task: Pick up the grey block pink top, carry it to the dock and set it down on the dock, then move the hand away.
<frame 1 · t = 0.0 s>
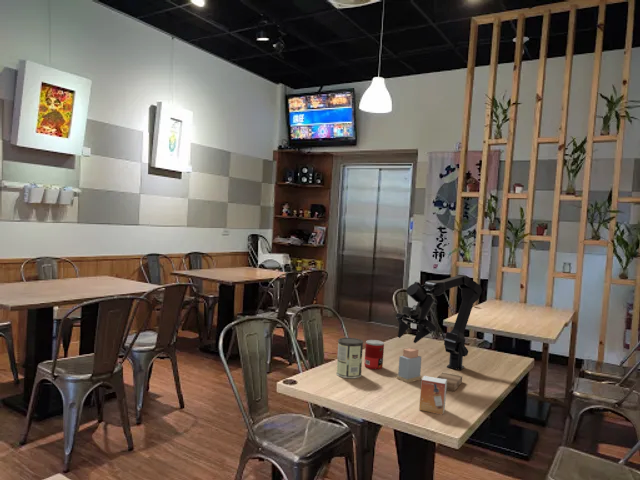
hand: (406, 340, 196), 15 cm above the table, tool tilted 35°, fingers open, 9 cm apart
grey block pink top: (409, 378, 193), on the table
coffee can: (348, 375, 194), on the table
dock: (447, 384, 189), on the table
small box: (432, 410, 160), on the table
canned food: (373, 367, 207), on the table
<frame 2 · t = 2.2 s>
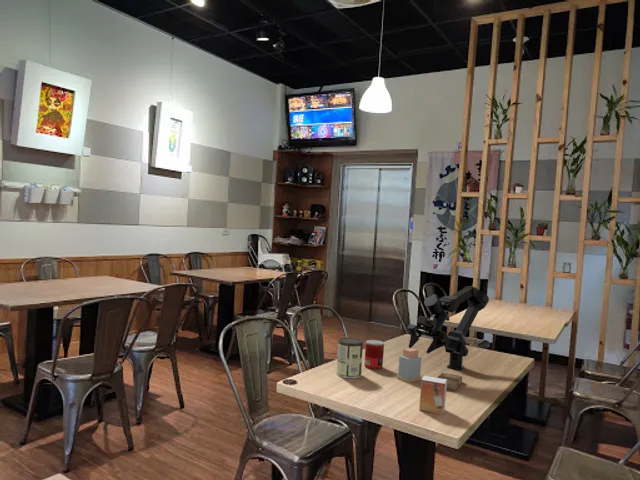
hand: (418, 350, 196), 11 cm above the table, tool tilted 45°, fingers open, 9 cm apart
nothing on the table moved.
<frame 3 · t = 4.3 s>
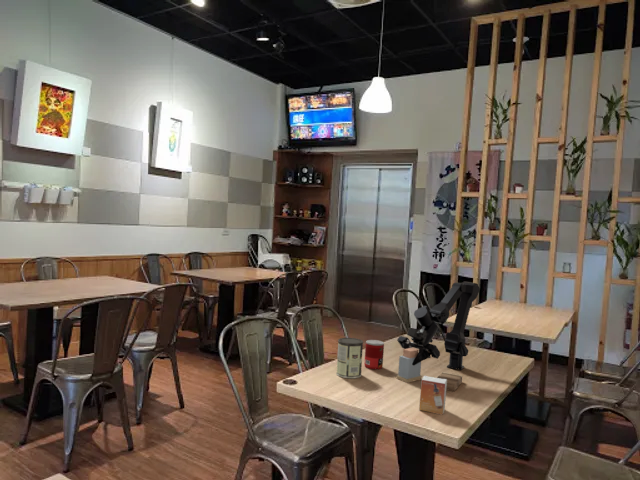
hand: (407, 363, 192), 7 cm above the table, tool tilted 45°, fingers closed on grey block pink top, 5 cm apart
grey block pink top: (409, 378, 193), on the table, touching gripper
everything else where it was.
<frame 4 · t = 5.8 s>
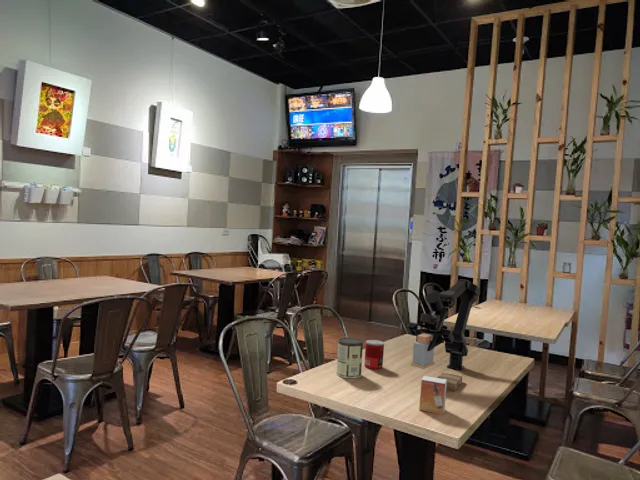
hand: (422, 349, 189), 13 cm above the table, tool tilted 45°, fingers closed on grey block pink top, 5 cm apart
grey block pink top: (422, 365, 190), point 7 cm above the table, touching gripper
everything else where it was.
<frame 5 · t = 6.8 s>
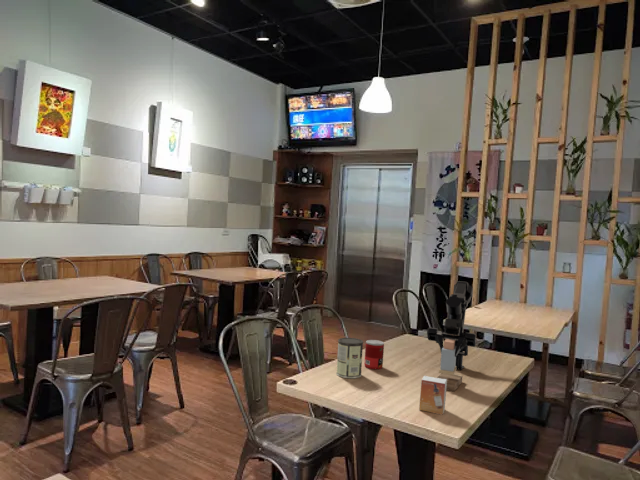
hand: (448, 355, 185), 12 cm above the table, tool tilted 45°, fingers closed on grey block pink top, 5 cm apart
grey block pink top: (447, 370, 187), point 6 cm above the table, touching gripper
everything else where it was.
when the fingers open (10 cm above the table, at t = 7.6 s): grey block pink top drops 1 cm, resting on dock.
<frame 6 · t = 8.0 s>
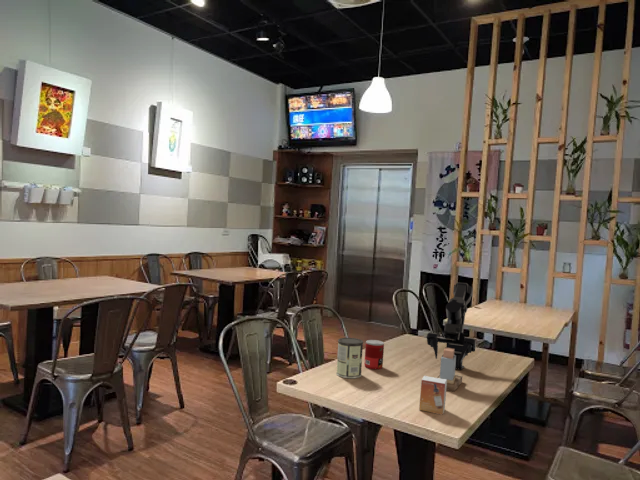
hand: (448, 360, 185), 11 cm above the table, tool tilted 45°, fingers open, 9 cm apart
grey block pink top: (447, 379, 187), point 2 cm above the table, touching dock
everything else where it was.
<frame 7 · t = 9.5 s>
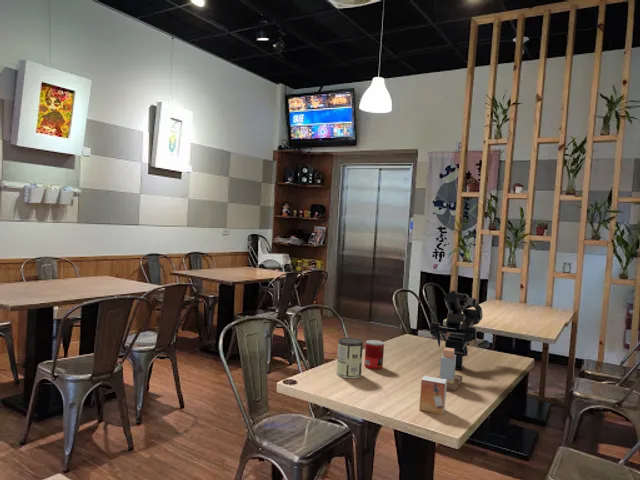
hand: (450, 347, 197), 13 cm above the table, tool tilted 45°, fingers open, 9 cm apart
nothing on the table moved.
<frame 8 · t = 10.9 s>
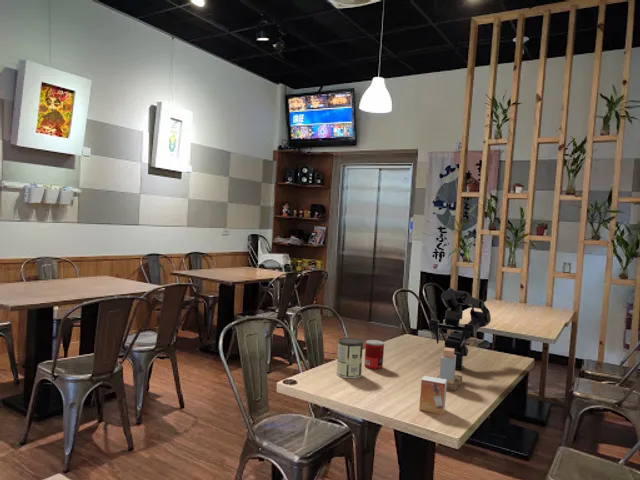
hand: (448, 344, 198), 14 cm above the table, tool tilted 45°, fingers open, 9 cm apart
nothing on the table moved.
at the end: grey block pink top inside the target area on the dock (1.5 cm from its centre), point 2.5 cm above the dock's base; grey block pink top tilted 0°; the gripper is holding nothing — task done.
